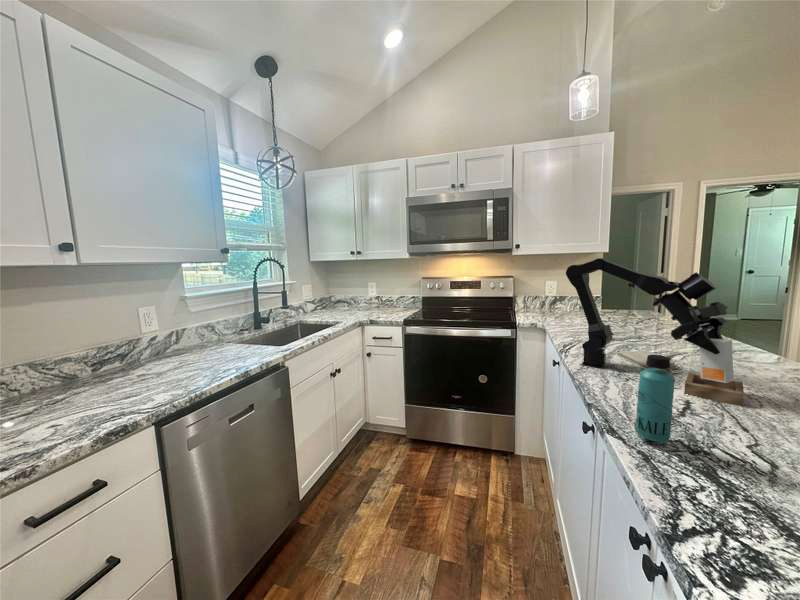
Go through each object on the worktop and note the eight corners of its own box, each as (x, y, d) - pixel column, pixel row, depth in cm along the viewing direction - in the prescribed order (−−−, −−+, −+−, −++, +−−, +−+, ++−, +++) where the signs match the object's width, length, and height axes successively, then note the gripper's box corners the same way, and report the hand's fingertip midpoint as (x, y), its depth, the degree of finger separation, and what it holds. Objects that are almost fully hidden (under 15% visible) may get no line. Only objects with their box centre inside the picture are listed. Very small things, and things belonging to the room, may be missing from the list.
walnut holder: (684, 394, 96) (685, 383, 96) (687, 382, 105) (688, 372, 104) (742, 406, 88) (744, 394, 87) (741, 392, 96) (742, 381, 96)
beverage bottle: (653, 432, 77) (660, 351, 74) (678, 448, 71) (686, 360, 68) (627, 433, 77) (632, 352, 74) (649, 450, 70) (656, 361, 68)
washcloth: (646, 371, 116) (647, 363, 116) (615, 356, 134) (615, 349, 134) (680, 371, 116) (681, 362, 115) (644, 355, 134) (645, 348, 133)
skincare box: (700, 379, 97) (698, 339, 97) (708, 376, 99) (706, 337, 98) (726, 383, 91) (724, 341, 91) (734, 381, 93) (732, 339, 93)
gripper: (687, 295, 92) (734, 342, 84) (722, 291, 99) (768, 333, 91) (654, 317, 101) (693, 362, 92) (688, 312, 108) (728, 353, 99)
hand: (722, 352), depth 93 cm, fingers closed on skincare box, 4 cm apart
